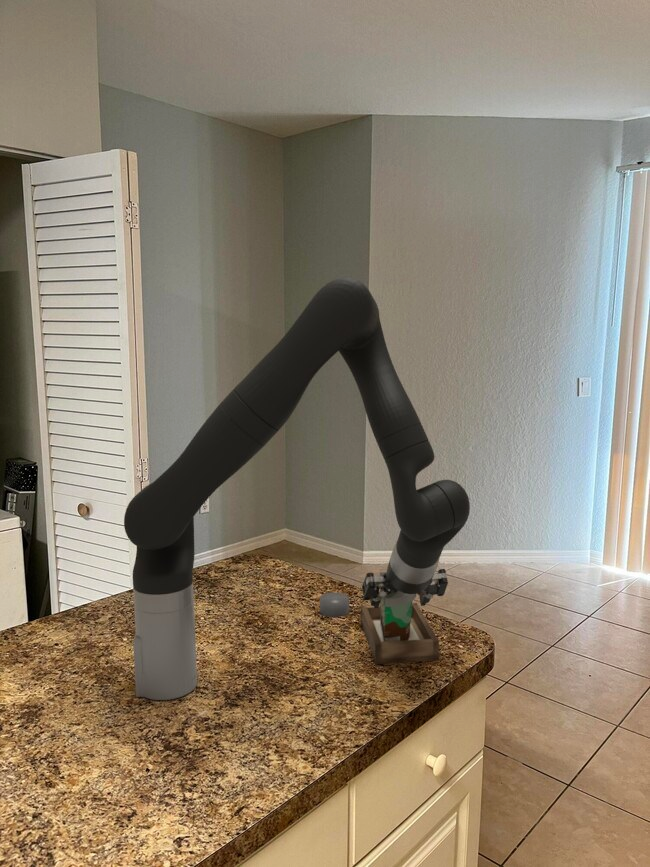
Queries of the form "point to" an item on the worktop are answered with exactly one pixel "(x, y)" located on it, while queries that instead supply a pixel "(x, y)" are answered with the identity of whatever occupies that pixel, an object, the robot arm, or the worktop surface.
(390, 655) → the tray
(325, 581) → the worktop surface
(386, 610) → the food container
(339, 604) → the grey domed puck
